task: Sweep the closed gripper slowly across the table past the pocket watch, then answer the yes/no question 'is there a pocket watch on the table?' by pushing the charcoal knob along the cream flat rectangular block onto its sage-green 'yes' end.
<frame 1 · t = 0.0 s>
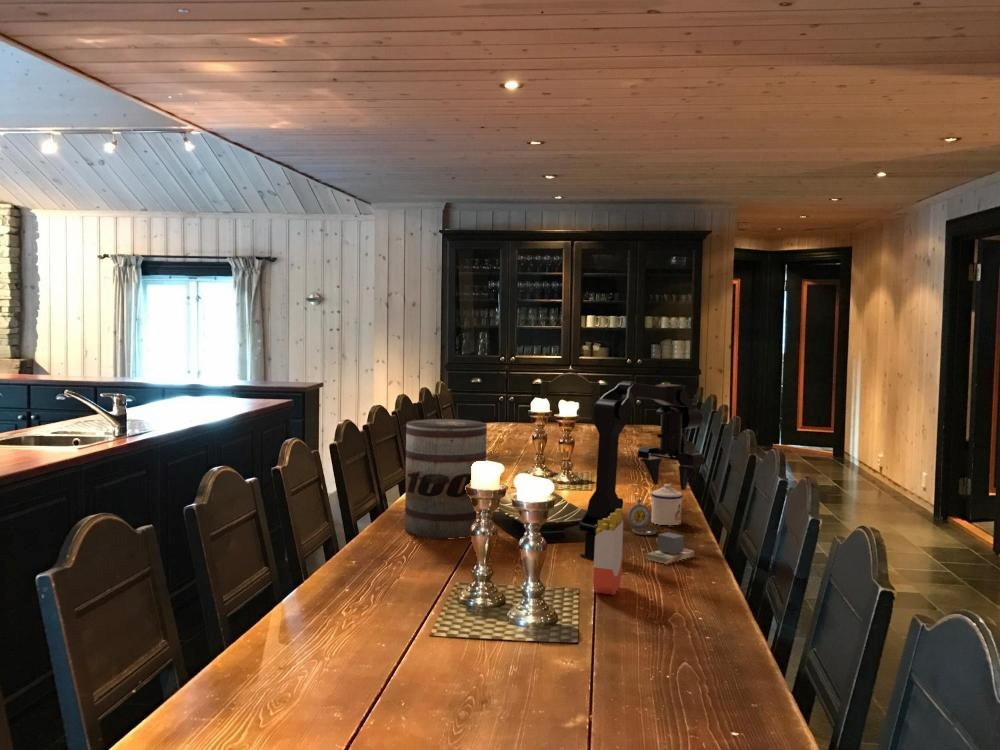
hand: (669, 487, 241), 15 cm above the table, tool pointing down, fingers open, 9 cm apart
french fries container: (606, 591, 195), on the table
pocket watch: (642, 533, 250), on the table
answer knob: (670, 543, 223), point 4 cm above the table, slide at 0.0 cm
cream flat rectangular block: (670, 558, 223), on the table
barrel: (444, 530, 249), on the table
teacup with lid: (665, 522, 264), on the table
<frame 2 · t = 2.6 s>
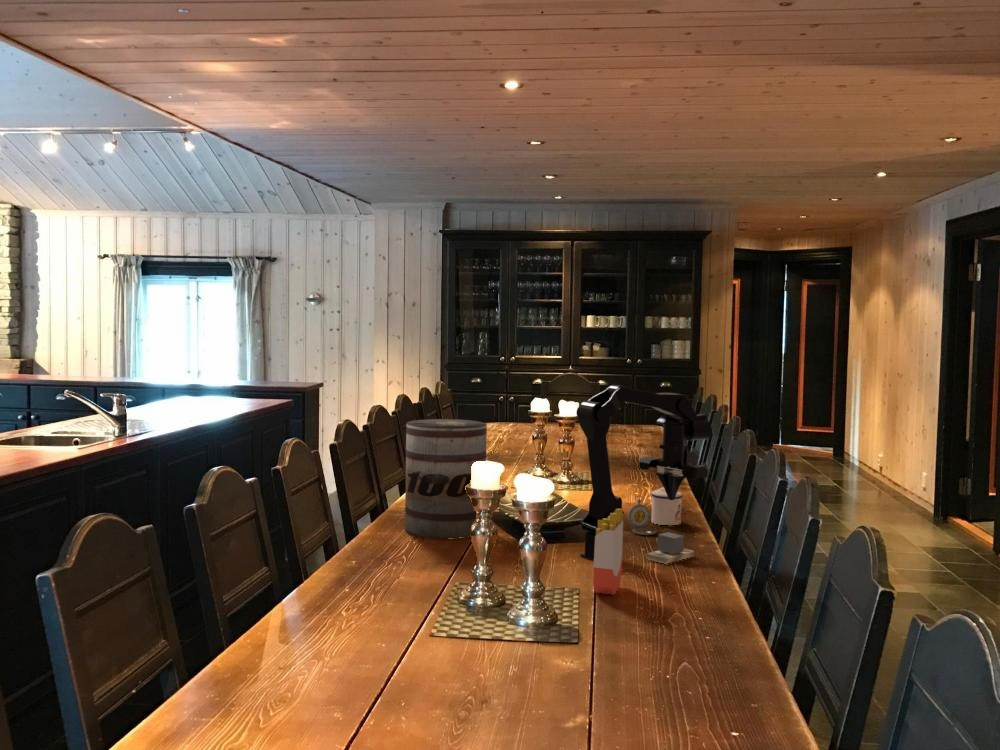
hand: (671, 499, 232), 13 cm above the table, tool pointing down, fingers closed
nothing on the table moved.
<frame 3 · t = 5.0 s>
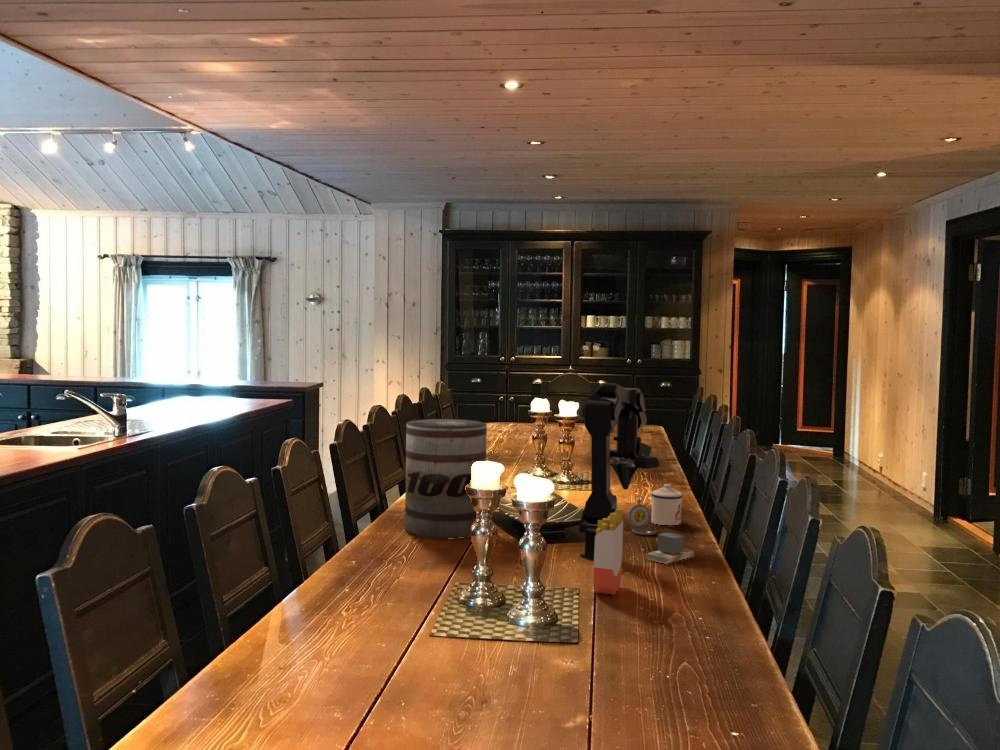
hand: (625, 489, 244), 13 cm above the table, tool pointing down, fingers closed
nothing on the table moved.
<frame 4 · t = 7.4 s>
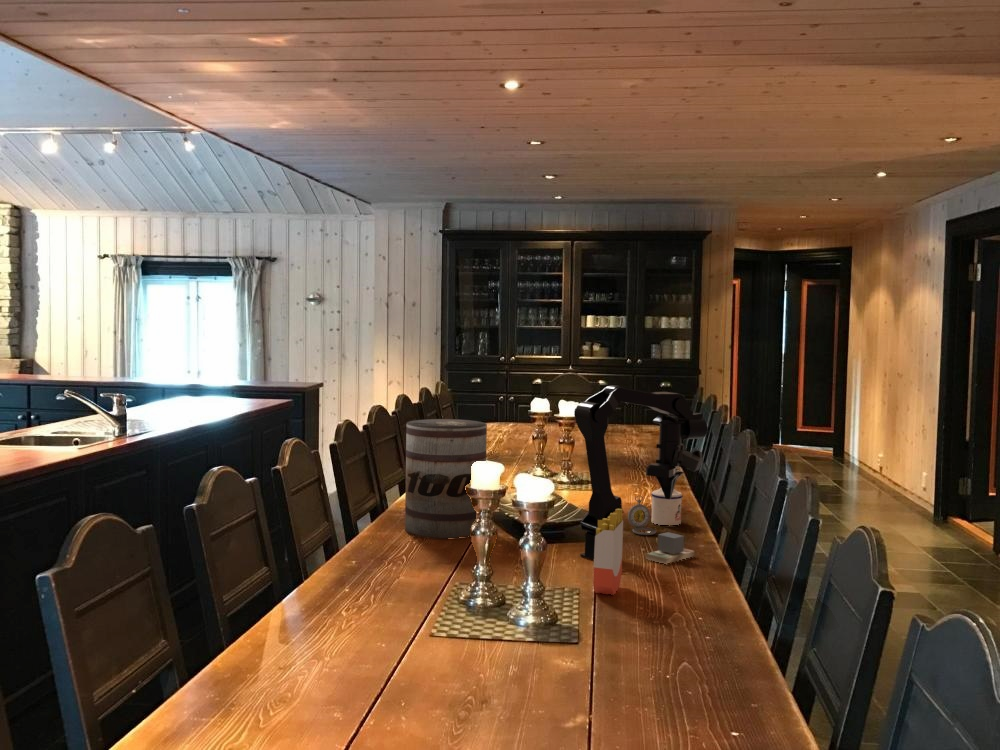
hand: (668, 499, 233), 13 cm above the table, tool pointing down, fingers closed
nothing on the table moved.
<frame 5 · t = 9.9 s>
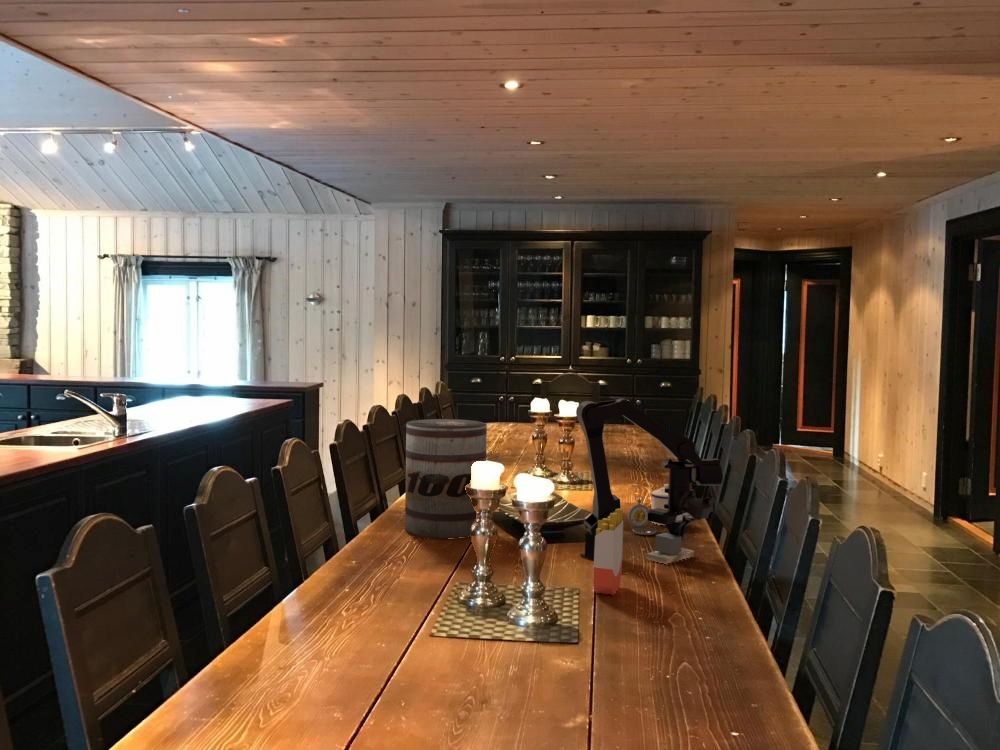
hand: (677, 545, 225), 3 cm above the table, tool pointing down, fingers closed
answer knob: (668, 543, 222), point 4 cm above the table, slide at -1.0 cm, touching gripper
everything else where it was.
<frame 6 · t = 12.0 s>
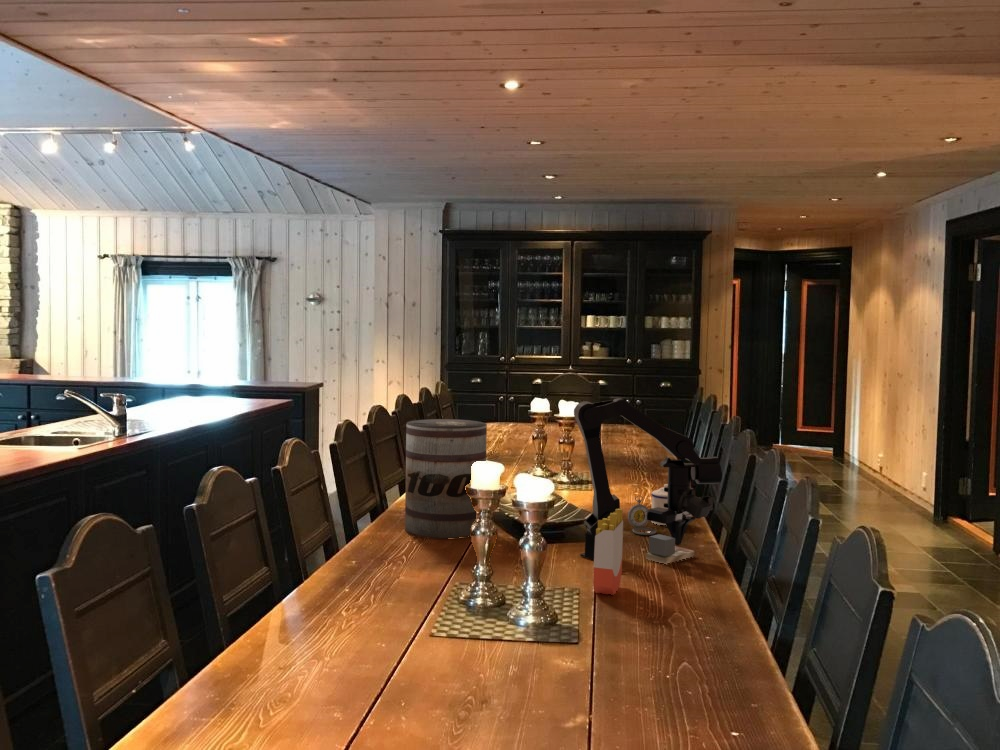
hand: (677, 544, 225), 3 cm above the table, tool pointing down, fingers closed
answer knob: (661, 545, 221), point 4 cm above the table, slide at -3.5 cm
everything else where it was.
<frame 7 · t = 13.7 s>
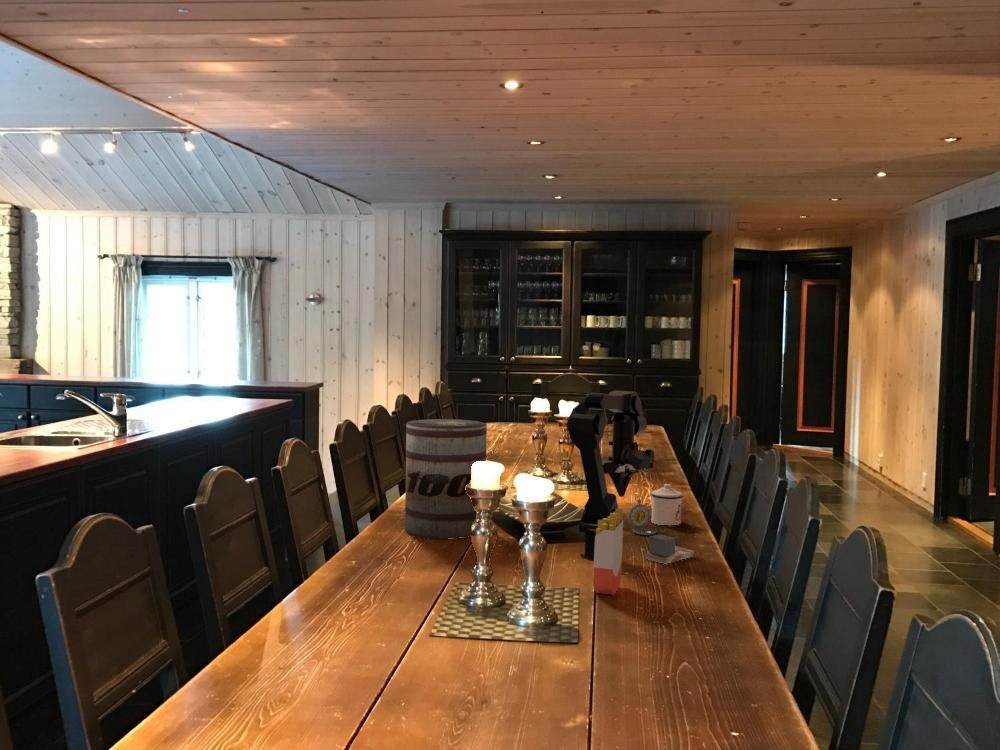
hand: (621, 496, 235), 13 cm above the table, tool pointing down, fingers closed
nothing on the table moved.
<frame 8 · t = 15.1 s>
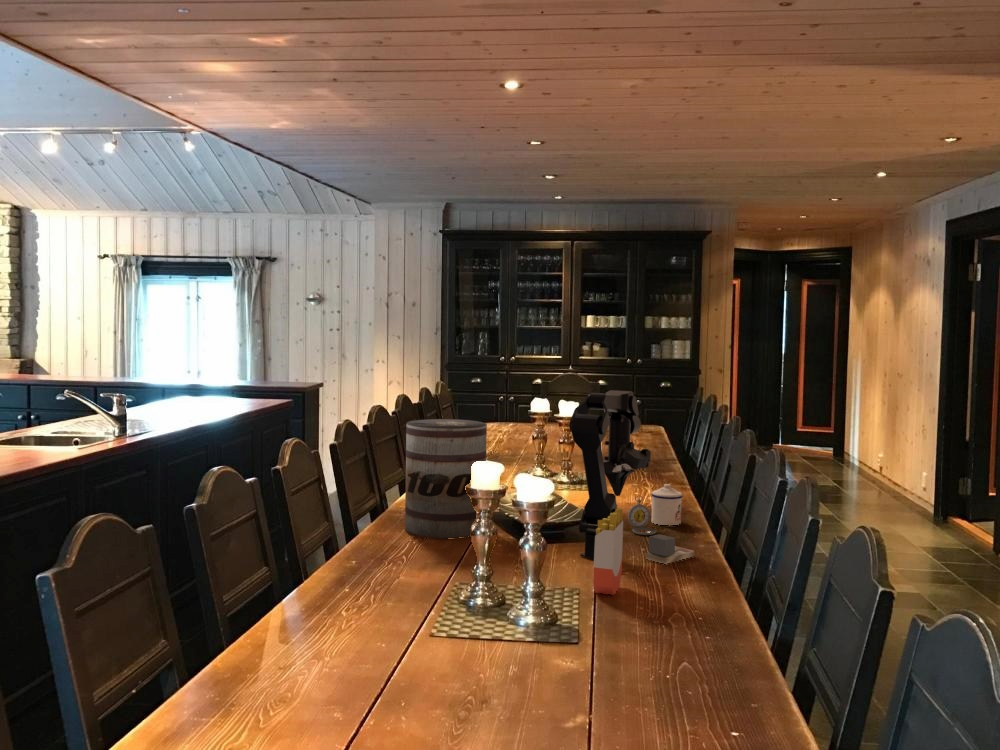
hand: (617, 495, 236), 13 cm above the table, tool pointing down, fingers closed
nothing on the table moved.
at the end: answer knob slide at -3.5 cm; pocket watch moved 0.2 cm from its start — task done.
